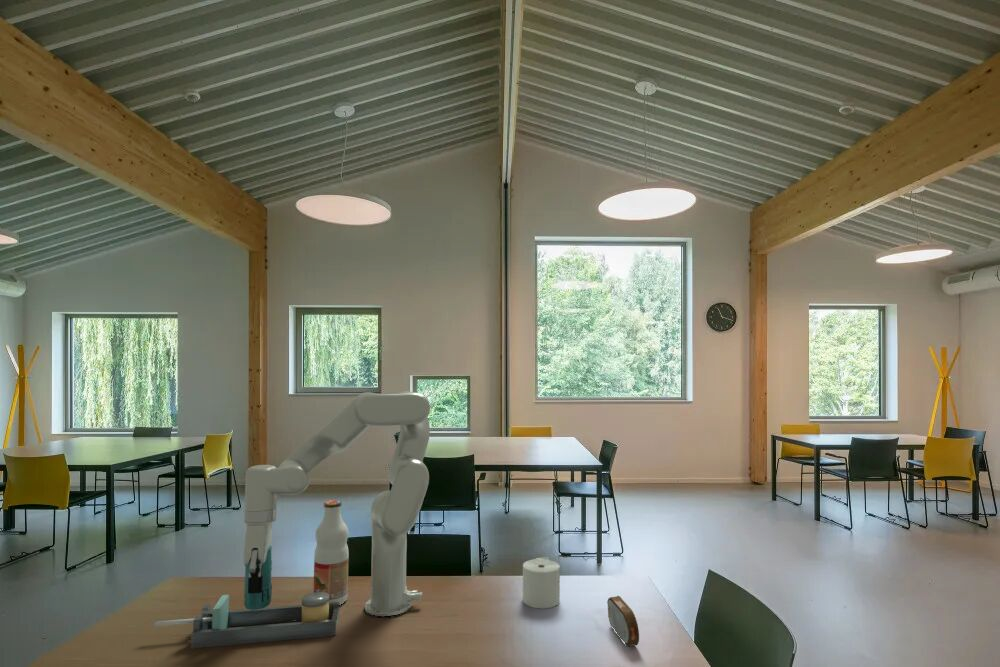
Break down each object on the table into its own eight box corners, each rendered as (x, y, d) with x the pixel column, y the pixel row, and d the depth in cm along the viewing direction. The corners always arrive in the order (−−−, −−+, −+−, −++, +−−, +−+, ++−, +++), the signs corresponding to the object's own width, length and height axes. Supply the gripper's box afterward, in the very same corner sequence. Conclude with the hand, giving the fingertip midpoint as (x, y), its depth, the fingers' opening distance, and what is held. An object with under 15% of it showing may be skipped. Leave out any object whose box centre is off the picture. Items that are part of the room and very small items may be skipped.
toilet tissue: (528, 610, 154) (528, 573, 155) (517, 593, 166) (517, 558, 166) (565, 607, 157) (565, 570, 157) (551, 590, 168) (551, 556, 169)
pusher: (228, 625, 143) (229, 594, 144) (218, 641, 135) (219, 608, 136) (161, 631, 140) (162, 599, 141) (147, 648, 132) (148, 614, 132)
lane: (339, 615, 150) (339, 592, 151) (335, 635, 139) (336, 610, 140) (205, 626, 144) (206, 602, 144) (190, 648, 133) (191, 622, 133)
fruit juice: (345, 607, 155) (348, 505, 157) (310, 610, 153) (313, 506, 155) (349, 593, 164) (351, 497, 166) (315, 596, 163) (318, 498, 164)
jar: (330, 620, 148) (331, 591, 148) (326, 632, 141) (327, 602, 141) (304, 621, 147) (304, 592, 147) (298, 634, 140) (299, 603, 140)
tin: (640, 652, 132) (640, 615, 133) (627, 653, 132) (627, 616, 132) (616, 623, 147) (616, 590, 148) (605, 623, 147) (605, 591, 147)
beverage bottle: (261, 617, 138) (263, 536, 138) (237, 614, 139) (239, 533, 140) (276, 605, 144) (278, 527, 145) (253, 603, 146) (255, 525, 146)
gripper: (252, 507, 150) (249, 576, 149) (235, 525, 133) (232, 603, 132) (281, 506, 152) (279, 574, 151) (269, 523, 135) (266, 601, 134)
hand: (257, 587), depth 141 cm, fingers closed on beverage bottle, 5 cm apart
